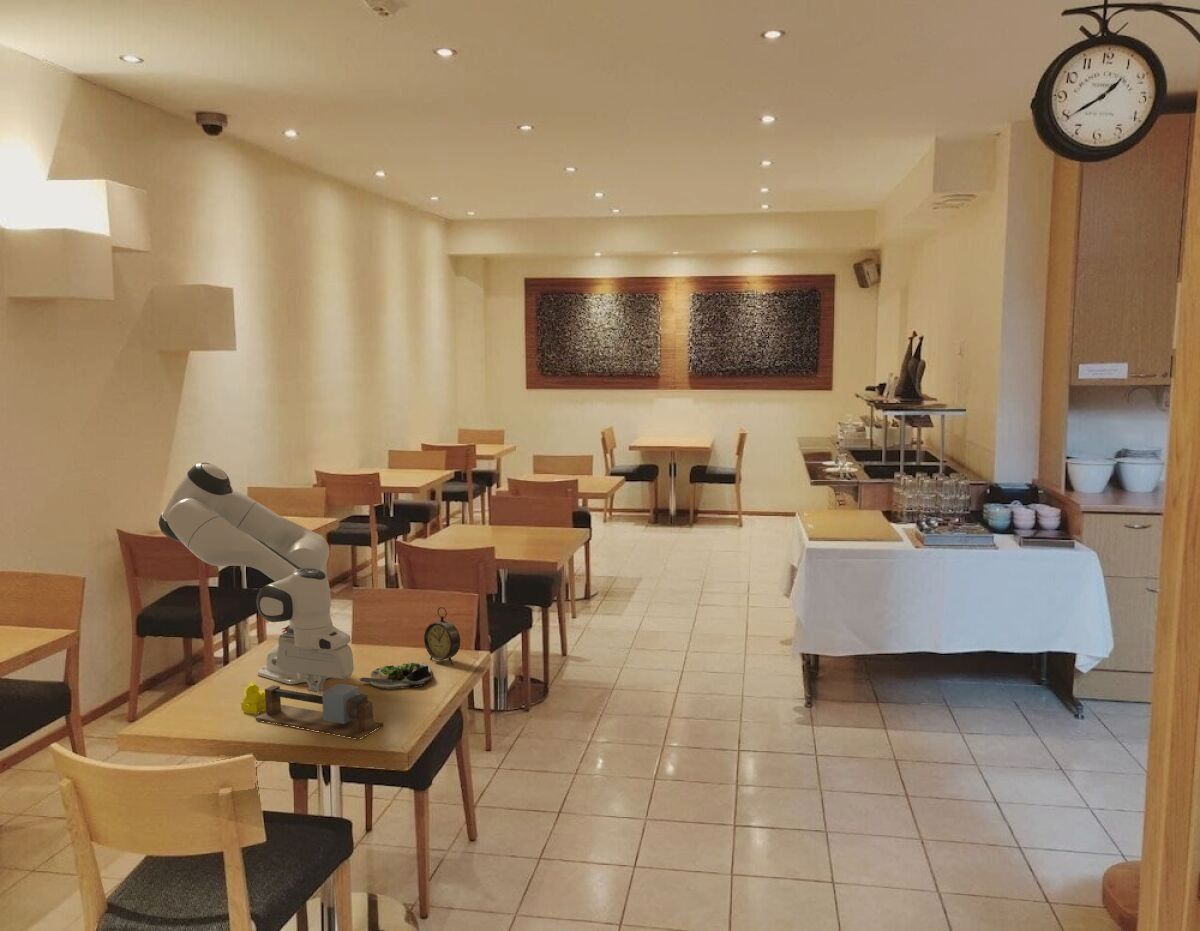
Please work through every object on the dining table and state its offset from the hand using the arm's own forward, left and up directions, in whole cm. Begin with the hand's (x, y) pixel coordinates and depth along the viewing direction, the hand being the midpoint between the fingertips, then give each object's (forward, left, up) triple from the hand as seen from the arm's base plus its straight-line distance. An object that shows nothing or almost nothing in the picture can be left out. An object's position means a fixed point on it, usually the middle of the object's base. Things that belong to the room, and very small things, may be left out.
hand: (316, 691), depth 227 cm
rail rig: (+1, -1, -8) cm, 8 cm away
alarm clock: (+4, +50, -8) cm, 50 cm away
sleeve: (+8, -1, -5) cm, 10 cm away
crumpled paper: (-20, +1, -8) cm, 21 cm away
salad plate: (+2, +33, -8) cm, 34 cm away
